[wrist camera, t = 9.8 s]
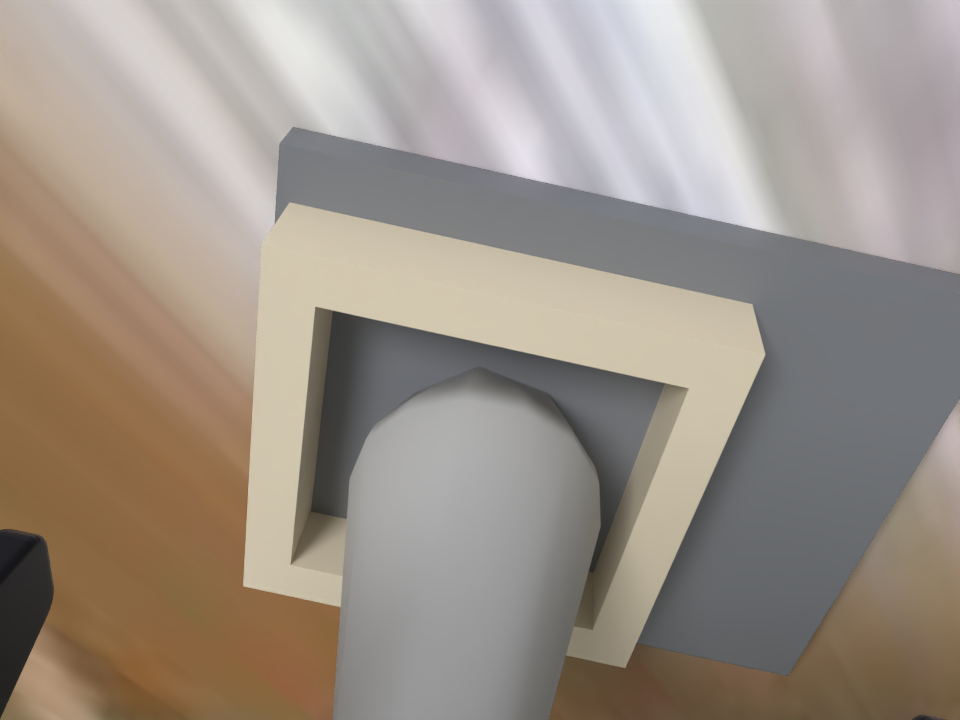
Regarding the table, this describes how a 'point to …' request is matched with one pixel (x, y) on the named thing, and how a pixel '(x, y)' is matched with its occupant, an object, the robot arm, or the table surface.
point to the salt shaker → (464, 555)
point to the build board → (600, 384)
